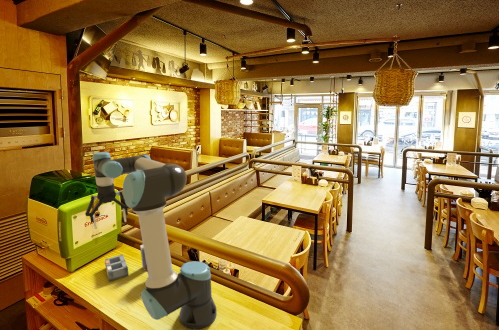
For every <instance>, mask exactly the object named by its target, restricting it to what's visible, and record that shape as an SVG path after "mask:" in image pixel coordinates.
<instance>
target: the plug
mask: <svg viewBox="0 0 499 330" xmlns="http://www.w3.org/2000/svg"><path fill="white" fill-rule="evenodd" d="M139 248H140V255H141V257H140V258H141V264H142V269H143V271H146V270H145V266H146V259H145V253H144V247H143V244H140V247H139Z"/></svg>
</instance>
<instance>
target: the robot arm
mask: <svg viewBox="0 0 499 330" xmlns="http://www.w3.org/2000/svg"><path fill="white" fill-rule="evenodd" d="M92 162H93V163H92V164H93V171H94V175H95V182H96V184H95V185H97V186H96V191H97V195H93V194H91V195H90V200H89V203H88V206H87V208H86V209H85V210H86V211H85V214H84V215H85V217H89V218H90V222H91V223H93V227H94V229H95V230H97V223H96V216H95V214H96V212H97V211H98V209H99V208H100V206H101V205H102V204H107V203H112V202H114V203H116V204H117V205H118V206H120V207H121V208H122V214H123V221H124V223H127V216H128V214H129V212H128V209H129V208H131V210H132V212H133V213H135V214H136V215H137V217H138V223H139V228H140V235H141V240H142V245H143V247H144V253H145V259H146V264H147V270H148V272H147V274H148V277H147V279H146V280H145V283H144V285H145V289H142V291H141V292H140V296H141V297H140V298H141V300H142V303H143V305H144V307H145V310H146V312H147V313H148V314H149V316H150V317H151V318H152V319H153V320H156V321H157V320H161V319H163V318H165V317H168V316H169V315H170V314H172V313H174V312H176V311H177V310H179V309H180V310H179V322H180V324H181V325H182V327H184V328H186V329H188V330H202V329H205V328H207V327H208V326H210V325H212V324H213V323H214V321H215V320H216V318H217V311H218V310H217V306H216V303H215V301H214V299H213V295H212V274H211V268H210V266H209V265H208V264H207V263H205V262H202V261H198V260H197V261H196V260H195V261H194V260H193V261H187V262H184V263H183V264H182V265H181V267H180V268H179V271H180V272H177V271H175V270H173V263H172V257H171V251H170V244H169V238H168V232H167V226H166V220H165V213H164V209H165V207H166V206H167V204H168V203H167V198H168V199H169V198H171V197H173V196H176V195H178V194H180V193H181V192H182V191H183V190H184V189H185V186H186V184H187V181H188V178H187V177H188V176H187V173H186V171H185V169H184V168H183V167H182V166H181V165H179V164H177V163H176V164H175V163H171V162H168V163H163V162H161V161H157V160H153V159H151V157H150V155H148V154H139V155H135V156H134V155H133V156H127V157H120V158H114V159H112V157H111V154H110V152H109V151H108V152H107V151H100V152H95V153H93V154H92ZM122 175H126V176H125V177H124V180H123V182H122V190H119V191H116V187H115V184H114V179H117V178H119V177H120V176H122ZM117 196H118V197H120V198H121V199H122V200H123V202H124V203H125V204H124V203H122V202H121V201H120V200H119V199H117V198H116V197H117ZM96 200H98V201H97V203H96V205H94V202H95V201H96ZM93 205H94V207H93ZM92 207H93V209H92Z"/></svg>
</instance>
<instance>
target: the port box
mask: <svg viewBox="0 0 499 330" xmlns="http://www.w3.org/2000/svg"><path fill="white" fill-rule="evenodd" d="M104 265H105V270H106V274H107V278H108V281H109V283H111V282H113V281H116V280H119V279H122V278H126V277H129V275H130V274H129V269H128V268H129V267H128V264H127V262H126V259H125V256H124V254H120V255H117V256H113V257H108V258H105V259H104Z"/></svg>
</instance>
